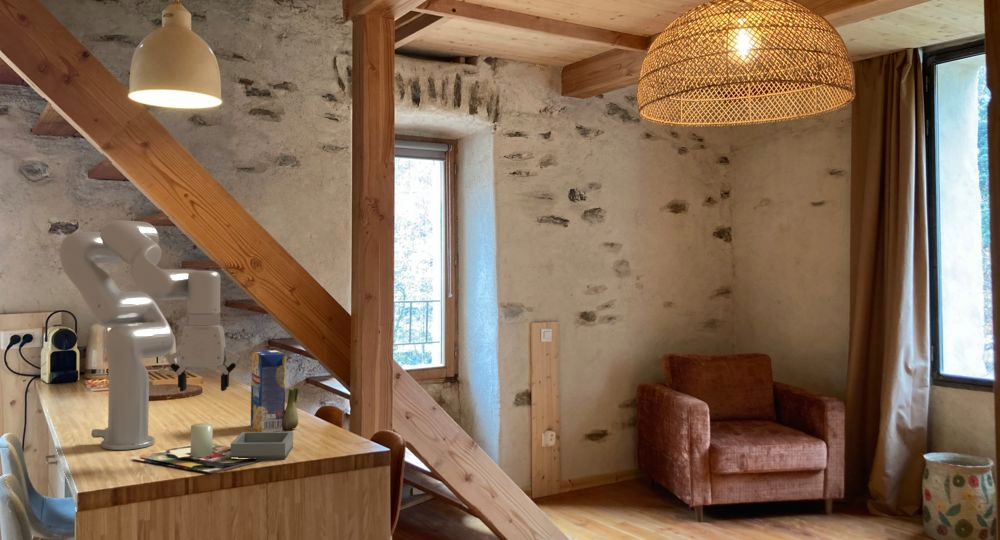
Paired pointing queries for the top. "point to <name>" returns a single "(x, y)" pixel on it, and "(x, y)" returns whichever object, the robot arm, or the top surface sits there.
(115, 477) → the top surface
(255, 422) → the beverage box
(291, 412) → the fennel bulb
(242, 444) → the bin
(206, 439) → the white ceramic cup
